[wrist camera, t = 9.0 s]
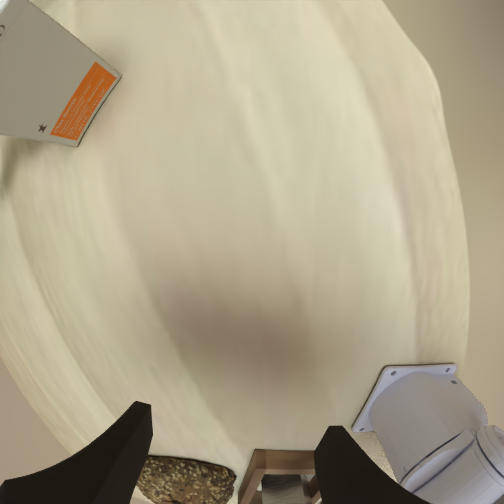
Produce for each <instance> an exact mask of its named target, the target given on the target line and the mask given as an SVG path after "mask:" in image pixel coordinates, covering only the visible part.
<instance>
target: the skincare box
mask: <svg viewBox="0 0 504 504" xmlns="http://www.w3.org/2000/svg"><path fill="white" fill-rule="evenodd" d="M120 78H121V75H120V74H119V73H118V72H117V71H116V70H115V69H113V68H112V67H111V66H110V65H109V64H108V63H106V62H105V61H104V60H103V59H102V58H100V57H99V56H98V55H97V54H96V53H95V52H93V51H92V50H91V49H90V48H89V47H87V46H86V45H85V44H84V43H82V42H81V41H80V40H79V39H78V38H76V37H75V36H74V35H73V34H71V33H70V32H69V31H68V30H66V29H65V28H64V27H63V26H61V25H60V24H59V23H58V22H56V21H55V20H54V19H53V18H51V17H50V16H49V15H47V14H46V13H45V12H43V11H42V10H41V9H39V8H38V7H37V6H35V5H34V4H33V3H31V2H30V1H29V0H0V135H4V136H12V137H18V138H24V139H31V140H37V141H43V142H48V143H54V144H60V145H65V146H70V147H77V146H78V144H79V141H80V139H81V137H82V136H83V134H84V132H85V130H86V129H87V127H88V125H89V124H90V122H91V120H92V118H93V117H94V115H95V114H96V112H97V110H98V109H99V107H100V106H101V104H102V103H103V101H104V100H105V99H106V97H107V96H108V94H109V93H110V91H111V90H112V89H113V87H114V86H115V85H116V83H117V82H118V81H119V79H120Z"/></svg>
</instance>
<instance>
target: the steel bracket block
mask: <svg viewBox="0 0 504 504" xmlns="http://www.w3.org/2000/svg"><path fill="white" fill-rule="evenodd" d="M261 484H262V503H263V504H312V499H311V493H310V488H309V483H308V480H307V478H306V476H305V474H264V476H263V478H262V480H261Z"/></svg>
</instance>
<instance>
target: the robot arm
mask: <svg viewBox="0 0 504 504" xmlns="http://www.w3.org/2000/svg"><path fill="white" fill-rule="evenodd" d="M456 369H457V365H456V364H455V363H454V364H440V365H422V366H388V367H386V368H385V369H384V370H383V371H382V373H381V375H380V377H379V379H378V382H377V384H376V386H375V387H374V389H373V391H372V393H371V395H370V397H369V399H368V401H367V403H366V405H365V406H364V408H363V410H362V412H361V413H360V415H359V417H358V419H357V420H356V422H355V424H354V425H353V427H352V431H353V432H354V433H358V432H369V431H375V434H376V436H377V438H378V440H379V442H380V444H381V446H382V449H383V451H384V453H385V455H386V457H387V459H388V462H389V464H390V466H391V468H392V470H393V473H394V475H395V477H396V479H397V482H398V483H397V482H395V481H394V480H393V479H391V478H390V477H389V476H388V475H387V474H386V473H385V472H384V471H382V470H381V469H380V468H379V467H378V466H377V465H376V464H375V463H374V462H373V461H372V460H371V459H370V458H369V456H368V455H367V454H366V453H365V452H364V451H363V450H362V449H361V447H360V446H359V445H358V444H357V443H356V442H355V440H354V439H353V438H352V437H351V436H350V434H349V433H348V432H347V431H346V430H345V428H344V427H343V426H329V427H328V429H327V430H326V432H325V434H324V436H323V438H322V439H321V441H320V443H319V445H318V446H317V448H316V450H315V451H314V465H315V474H316V478H317V482H318V486H319V490H320V494H321V499H322V503H323V504H504V431H503V430H501V429H500V428H498V427H497V426H495V425H489V426H488V425H487V424H488V420H487V413H486V411H485V408H484V406H483V405H482V404H481V402H480V401H479V400H478V399H477V398H476V397H475V396H474V395H473V394H472V393H471V392H470V390H469V389H467V387H466V386H465V385H464V384H463V383H462V382H461V381H460V380H459V379H458V378H457V377H456V376H455V375H454V373H455V371H456ZM393 371H394V372H393ZM152 436H153V429H152V414H151V405H150V404H146V403H143V402H139V401H135V402H134V403H133V404H132V405H131V406H130V407H129V408H128V409H127V411H126V412H125V413H124V414H123V415H122V416H121V417H120V418H119V419H118V420H117V421H116V422H115V423H114V424H113V425H111V426H110V427H109V428H108V429H107V430H106V431H105V432H104V433H103V434H101V435H100V436H99V437H98V438H96V439H95V440H94V441H93V442H91V443H90V444H89V445H87V446H86V447H85V448H83V449H82V450H80V451H79V452H77V453H76V454H74V455H72V456H71V457H69V458H67V459H65V460H64V461H62V462H60V463H58V464H56V465H54V466H51V467H49V468H47V469H44V470H41V471H39V472H36V473H33V474H30V475H26V476H22V477H18V478H13V479H9V480H5V481H4V482H3V484H2V485H1V486H0V504H129V503H130V500H131V497H132V494H133V491H134V488H135V486H136V483H137V481H138V478H139V476H140V473H141V471H142V468H143V466H144V463H145V460H146V458H147V455H148V452H149V448H150V444H151V440H152Z"/></svg>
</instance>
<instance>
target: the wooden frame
mask: <svg viewBox="0 0 504 504" xmlns="http://www.w3.org/2000/svg"><path fill="white" fill-rule="evenodd" d="M264 474H315V465H314V451H280V450H261V449H255V451H254V453H253V456H252V459H251V461H250V464H249V467H248V469H247V472H246V474H245V477H244V479H243V482H242V484H241V487H240V489H239V492H238V504H263V503H262V491H256V490H257V488H258V486H259V484H260V482H261V480H262V478H263V476H264ZM309 488H310V493H311V499H312V504H315V503H316V502H317V501H318V500H319V499H320V498H321V494H320V490H319V486H318V482H317V478H316V474H315V476H314V477H313V479H312V480H311V481H310V483H309Z"/></svg>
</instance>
